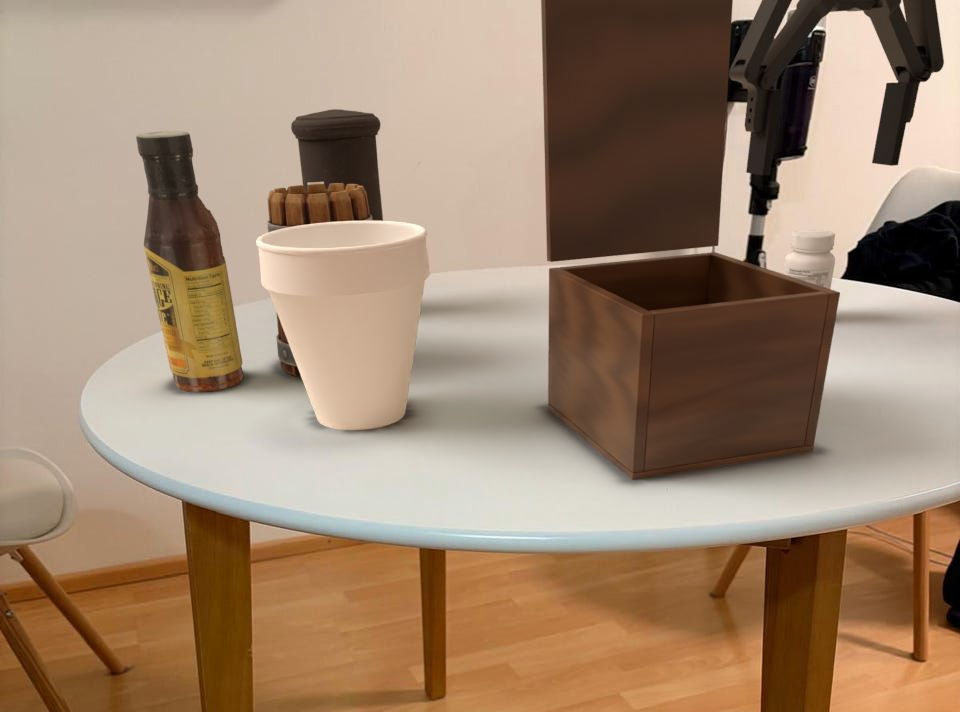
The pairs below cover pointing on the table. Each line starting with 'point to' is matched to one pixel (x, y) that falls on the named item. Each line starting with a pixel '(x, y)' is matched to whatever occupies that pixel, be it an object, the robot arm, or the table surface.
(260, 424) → the table surface
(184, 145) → the sauce bottle
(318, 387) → the white flower pot
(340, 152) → the container
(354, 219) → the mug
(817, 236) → the pill bottle
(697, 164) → the lid
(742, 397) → the chest
